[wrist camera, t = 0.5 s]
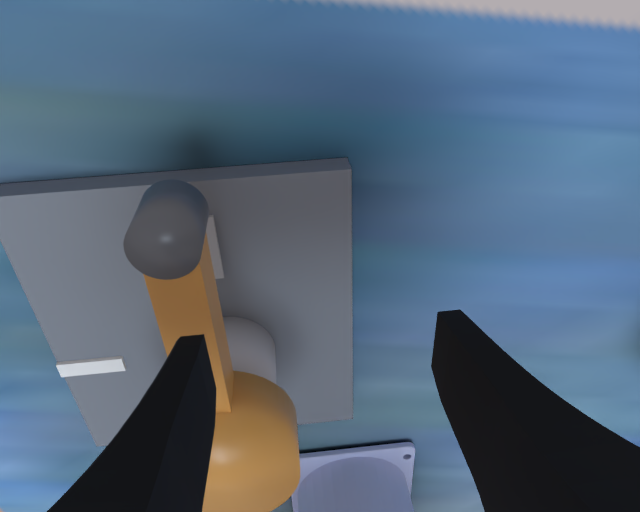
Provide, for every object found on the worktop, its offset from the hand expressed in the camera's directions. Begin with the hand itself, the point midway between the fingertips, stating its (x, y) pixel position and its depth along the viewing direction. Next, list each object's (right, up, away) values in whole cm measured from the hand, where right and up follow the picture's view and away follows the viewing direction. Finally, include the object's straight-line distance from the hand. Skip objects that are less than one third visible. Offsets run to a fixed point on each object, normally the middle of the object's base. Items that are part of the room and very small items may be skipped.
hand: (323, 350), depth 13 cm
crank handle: (-4, -1, +5) cm, 7 cm away
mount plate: (-6, 0, +11) cm, 12 cm away
